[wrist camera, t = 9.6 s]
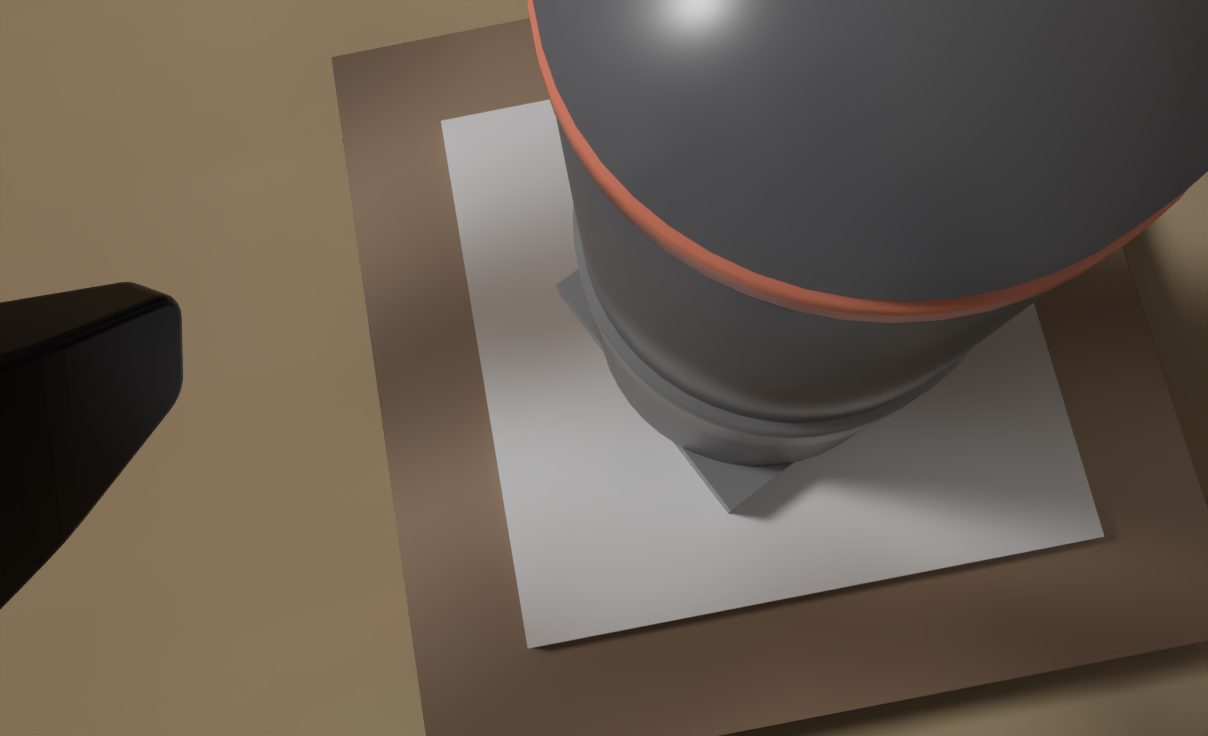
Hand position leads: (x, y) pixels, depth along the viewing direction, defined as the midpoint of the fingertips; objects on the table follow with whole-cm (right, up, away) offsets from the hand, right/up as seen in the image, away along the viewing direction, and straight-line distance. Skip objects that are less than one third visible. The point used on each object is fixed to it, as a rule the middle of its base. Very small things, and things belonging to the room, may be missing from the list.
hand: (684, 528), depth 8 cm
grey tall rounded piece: (+2, +2, +10) cm, 10 cm away
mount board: (+2, +2, +12) cm, 12 cm away
